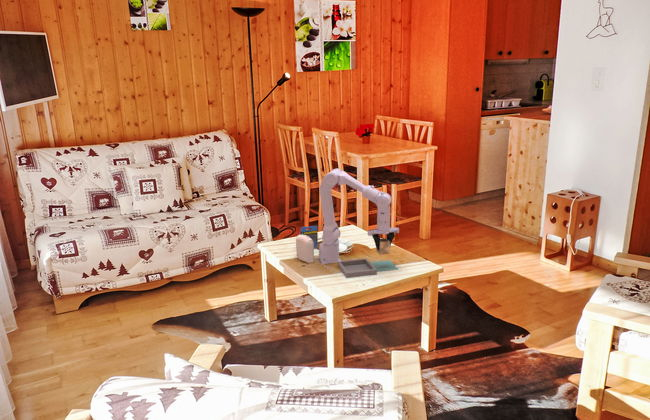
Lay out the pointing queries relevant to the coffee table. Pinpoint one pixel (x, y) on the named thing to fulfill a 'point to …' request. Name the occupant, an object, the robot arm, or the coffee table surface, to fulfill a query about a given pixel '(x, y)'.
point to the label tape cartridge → (310, 234)
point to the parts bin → (357, 268)
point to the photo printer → (305, 248)
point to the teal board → (384, 265)
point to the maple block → (384, 246)
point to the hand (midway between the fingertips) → (382, 248)
